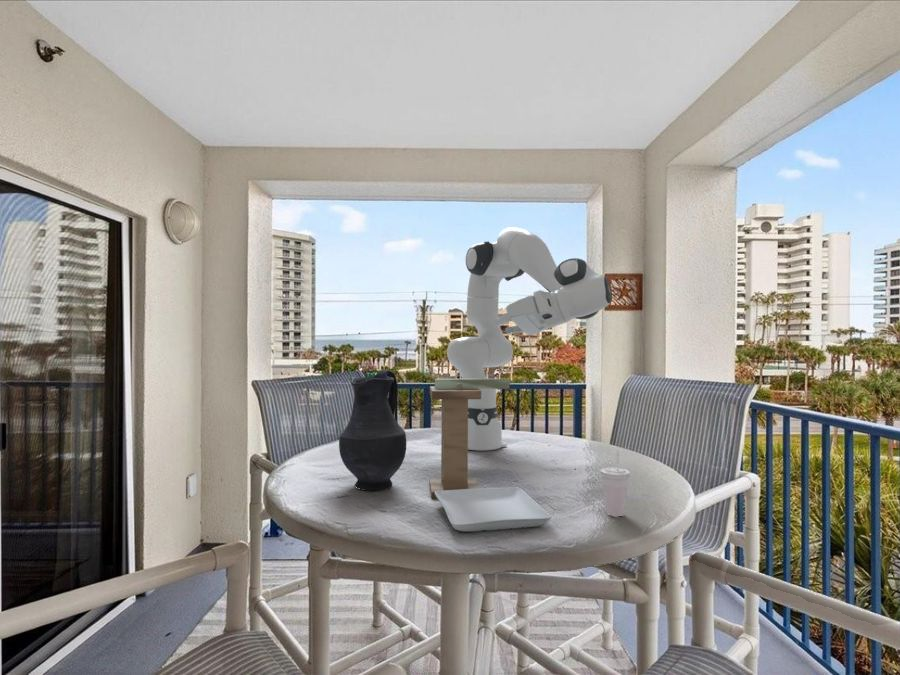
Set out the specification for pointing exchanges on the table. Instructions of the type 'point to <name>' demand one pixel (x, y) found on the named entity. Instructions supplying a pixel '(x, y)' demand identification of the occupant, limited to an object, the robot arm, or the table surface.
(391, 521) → the table surface
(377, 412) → the pitcher
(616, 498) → the smoothie
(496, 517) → the salad plate
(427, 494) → the table surface
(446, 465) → the shelf stand
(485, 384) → the bar
